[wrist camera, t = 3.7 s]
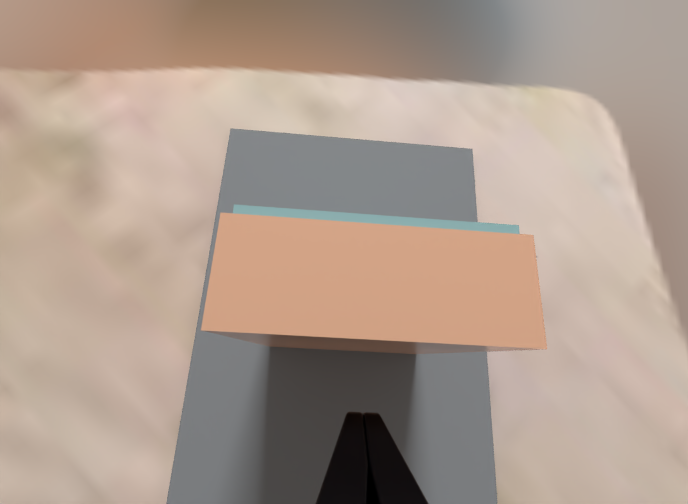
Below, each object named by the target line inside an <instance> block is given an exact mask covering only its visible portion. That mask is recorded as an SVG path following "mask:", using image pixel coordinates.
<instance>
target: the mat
mask: <svg viewBox="0 0 688 504" xmlns="http://www.w3.org/2000/svg"><path fill="white" fill-rule="evenodd" d="M234 204H235V205H248V206H262V207H275V208H289V209H303V210H316V211H330V212H344V213H357V214H371V215H384V216H398V217H412V218H425V219H439V220H452V221H466V222H477V209H476V194H475V180H474V166H473V152H472V149H466V148H454V147H443V146H431V145H419V144H407V143H396V142H384V141H372V140H360V139H348V138H337V137H325V136H313V135H301V134H290V133H278V132H266V131H254V130H242V129H231V130H230V136H229V142H228V147H227V153H226V159H225V165H224V171H223V177H222V182H221V188H220V194H219V200H218V206H217V212H216V217H215V223H214V229H213V235H212V241H211V246H210V252H209V258H208V264H207V270H206V276H205V281H204V287H203V293H202V299H201V305H200V311H199V316H198V322H197V328H196V334H195V340H194V346H193V351H192V357H191V363H190V369H189V375H188V381H187V386H186V392H185V398H184V404H183V410H182V416H181V421H180V427H179V433H178V439H177V445H176V451H175V456H174V462H173V468H172V474H171V480H170V486H169V491H168V497H167V503H166V504H315V503H316V500H317V497H318V494H319V491H320V488H321V485H322V482H323V479H324V476H325V474H326V471H327V468H328V465H329V462H330V459H331V456H332V453H333V450H334V447H335V445H336V442H337V439H338V436H339V433H340V430H341V427H342V424H343V421H344V418H345V416H346V413H347V412H349V411H350V412H361V413H362V414H363V413H365V412H373V413H379V414H380V416H381V417H382V419H383V421H384V423H385V424H386V426H387V428H388V430H389V432H390V434H391V435H392V437H393V439H394V441H395V443H396V445H397V446H398V448H399V450H400V452H401V454H402V456H403V457H404V459H405V461H406V463H407V465H408V467H409V468H410V470H411V472H412V474H413V476H414V478H415V479H416V481H417V483H418V485H419V487H420V489H421V490H422V492H423V494H424V496H425V498H426V500H427V501H428V503H429V504H497V491H496V477H495V463H494V449H493V435H492V420H491V406H490V392H489V378H488V364H487V352H461V353H435V354H402V353H383V352H364V351H344V350H325V349H306V348H287V347H269V346H265V345H261V344H257V343H252V342H248V341H244V340H239V339H235V338H231V337H227V336H222V335H218V334H214V333H210V332H205V331H201V326H202V320H203V314H204V308H205V302H206V296H207V290H208V284H209V278H210V273H211V267H212V261H213V255H214V249H215V243H216V237H217V231H218V225H219V219H220V213H233V208H234Z"/></svg>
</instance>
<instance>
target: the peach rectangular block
mask: <svg viewBox="0 0 688 504" xmlns="http://www.w3.org/2000/svg"><path fill="white" fill-rule="evenodd" d="M201 331H205V332H210V333H214V334H218V335H222V336H227V337H231V338H235V339H239V340H244V341H248V342H252V343H257V344H261V345H265V346H269V347H287V348H306V349H325V350H344V351H364V352H383V353H402V354H435V353H461V352H487V351H513V350H538V349H547V344H546V336H545V328H544V319H543V311H542V303H541V295H540V286H539V278H538V270H537V261H536V253H535V245H534V237H533V235H526V234H519V225H507V224H493V223H480V222H466V221H452V220H439V219H425V218H412V217H398V216H384V215H371V214H357V213H344V212H330V211H316V210H303V209H289V208H275V207H262V206H248V205H235V204H234V208H233V213H220V219H219V225H218V231H217V237H216V243H215V249H214V255H213V261H212V267H211V273H210V278H209V284H208V290H207V296H206V302H205V308H204V314H203V320H202V326H201Z"/></svg>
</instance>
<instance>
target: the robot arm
mask: <svg viewBox="0 0 688 504" xmlns="http://www.w3.org/2000/svg"><path fill="white" fill-rule="evenodd" d="M315 504H429V503H428V501H427V500H426V498H425V496H424V494H423V492H422V490H421V489H420V487H419V485H418V483H417V481H416V479H415V478H414V476H413V474H412V472H411V470H410V468H409V467H408V465H407V463H406V461H405V459H404V457H403V456H402V454H401V452H400V450H399V448H398V446H397V445H396V443H395V441H394V439H393V437H392V435H391V434H390V432H389V430H388V428H387V426H386V424H385V423H384V421H383V419H382V417H381V416H380V414H379V413H373V412H365V413H363V414H362V413H361V412H350V411H349V412H347V413H346V416H345V418H344V421H343V424H342V427H341V430H340V433H339V436H338V439H337V442H336V445H335V447H334V450H333V453H332V456H331V459H330V462H329V465H328V468H327V471H326V474H325V476H324V479H323V482H322V485H321V488H320V491H319V494H318V497H317V500H316V503H315Z"/></svg>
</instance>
